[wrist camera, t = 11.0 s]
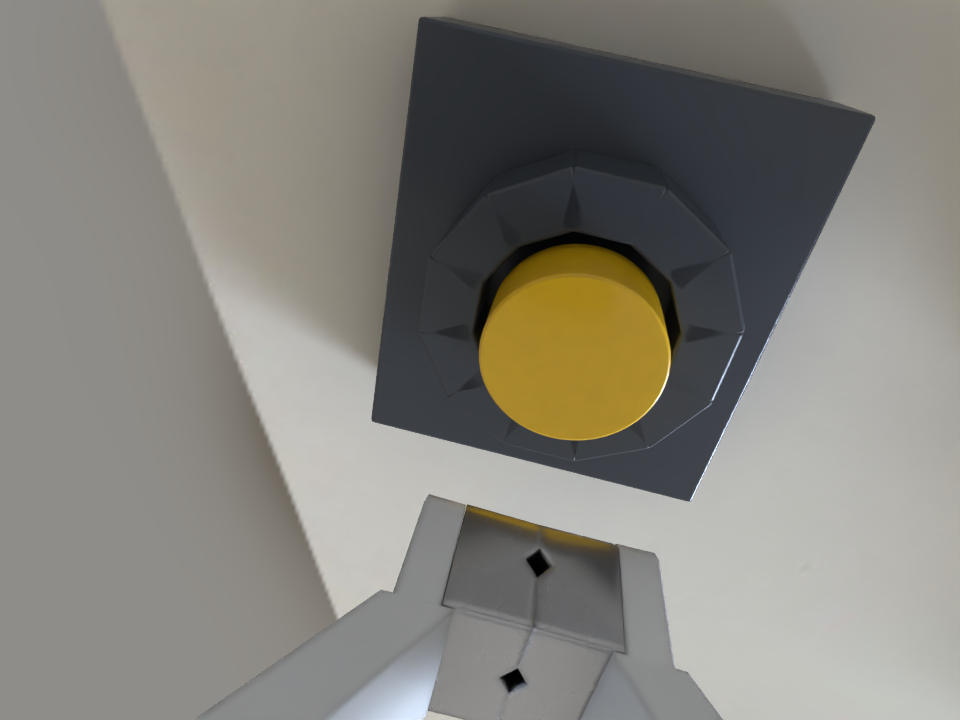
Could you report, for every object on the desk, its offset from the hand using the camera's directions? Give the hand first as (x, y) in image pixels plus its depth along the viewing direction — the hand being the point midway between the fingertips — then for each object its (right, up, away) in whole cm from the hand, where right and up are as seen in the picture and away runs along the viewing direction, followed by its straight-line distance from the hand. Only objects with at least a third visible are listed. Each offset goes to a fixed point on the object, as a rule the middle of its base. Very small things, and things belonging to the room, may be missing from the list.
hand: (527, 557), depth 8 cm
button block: (+2, +5, +8) cm, 10 cm away
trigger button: (+1, +3, +5) cm, 6 cm away
